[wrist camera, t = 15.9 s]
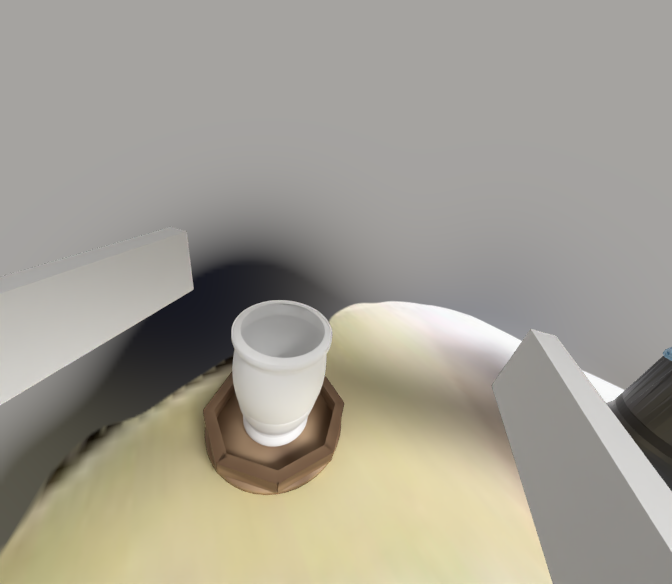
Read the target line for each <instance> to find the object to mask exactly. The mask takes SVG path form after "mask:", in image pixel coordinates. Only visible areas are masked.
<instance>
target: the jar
mask: <svg viewBox="0 0 672 584" xmlns="http://www.w3.org/2000/svg"><path fill="white" fill-rule="evenodd" d="M231 333H232V334H231V339H232V343H233V346H234V349H235V350H234V356H233V366H232V375H233V384H234V389H235V393H236V396H237V399H238V403H239V406H240V409H241V412H242V414H243V424H244V428H245V430H246V432H247V434H248V435H249V436H250V437H251V438H252V439H253V440H254V441H255V442H257V443H259V444H261V445H264V446H270V447H276V446H282V445H285V444H288V443H290V442H292V441H293V440H295V439H296V438H297V437H298V436H299V435H300V434H301V433H302V431H303V430H304V428H305V426H306V423H307V419H308V415H309V414H310V412H311V410H312V408H313V406H314V403H315V401H316V399H317V397H318V395H319V393H320V390H321V388H322V385H323V381H324V377H325V371H326V354H327V352H328V350H329V348H330V346H331V342H332V328H331V326H330V323H329V322H328V320H327V319H326V318H325V317H324V316H323V315H322V314H321V313H320V312H319V311H317V310H316V309H314V308H312V307H310V306H308V305H305V304H302V303H299V302H294V301H287V300H273V301H266V302H262V303H258V304H256V305H253V306H251V307H249V308H247V309H245V310H244V311H243V312H241V313H240V314H239V315H238V316H237V318H236V319H235V321H234V323H233V325H232V330H231Z"/></svg>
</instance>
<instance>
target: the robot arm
mask: <svg viewBox="0 0 672 584" xmlns="http://www.w3.org/2000/svg"><path fill="white" fill-rule="evenodd" d="M193 289H194V288H193V280H192V272H191V264H190V255H189V247H188V238H187V231H184V230H180V229H177V228H173V227H168V228H165V229H161V230H158V231H155V232H151V233H148V234H144V235H141V236H137V237H134V238H130V239H127V240H124V241H120V242H117V243H113V244H110V245H107V246H103V247H100V248H97V249H93V250H90V251H86V252H83V253H79V254H76V255H73V256H69V257H66V258H62V259H59V260H55V261H52V262H49V263H45V264H42V265H38V266H35V267H32V268H28V269H25V270H21V271H18V272H15V273H11V274H8V275H4V276H1V277H0V405H2V404H3V403H5V402H7V401H8V400H10V399H12V398H13V397H15V396H16V395H18V394H20V393H22V392H23V391H25V390H27V389H28V388H30V387H32V386H33V385H35V384H37V383H38V382H40V381H42V380H43V379H45V378H47V377H48V376H50V375H52V374H53V373H55V372H57V371H58V370H60V369H62V368H63V367H65V366H67V365H68V364H70V363H72V362H73V361H75V360H77V359H78V358H80V357H82V356H83V355H85V354H87V353H88V352H90V351H92V350H93V349H95V348H97V347H98V346H100V345H101V344H103V343H105V342H107V341H108V340H110V339H112V338H113V337H115V336H117V335H118V334H120V333H122V332H123V331H125V330H127V329H128V328H130V327H132V326H133V325H135V324H137V323H138V322H140V321H142V320H143V319H145V318H147V317H148V316H150V315H152V314H153V313H155V312H157V311H158V310H160V309H161V308H163V307H165V306H167V305H168V304H170V303H172V302H173V301H175V300H177V299H178V298H180V297H182V296H183V295H185V294H187V293H188V292H190V291H192V290H193ZM663 355H664V356H663V357H662V358H661V359H659V360H658V361H657V362H656V363H655V364H654V365H653V366H652V367H650V368H649V369H648V370H647V371H646V372H645V373H644V374H643V375H642V376H640V377H639V378H638V379H637V380H636V381H635V382H634V383H633V384H632V385H630V386H629V387H628V388H627V389H626V390H625V391H624V392H623V393H622V394H621V395H619V396H618V397H617V398H616V399H615V400H613V401H611V402H608V403H605V401H604V400H603V399H602V397H601V396H600V395H599V393H598V392H597V390H596V389H595V388H594V386H593V385H592V384H591V382H590V381H589V380H588V378H587V377H586V376H585V374H584V373H583V372H582V370H581V369H580V368H579V367H578V365H577V364H576V362H575V361H574V360H573V358H572V357H571V356H570V354H569V353H568V352H567V350H566V349H565V348H564V346H563V345H562V343H561V342H560V341H559V339H558V338H557V337H556V336H554V335H551V334H547V333H544V332H540V331H537V330H533V329H530V331H529V332H528V333H527V335H526V337H525V338H524V339H523V341H522V342H521V344H520V345H519V347H518V348H517V349H516V351H515V352H514V354H513V355H512V357H511V358H510V360H509V361H508V362H507V364H506V365H505V367H504V368H503V370H502V371H501V373H500V374H499V375H498V377H497V378H496V380H495V381H494V383H493V384H492V388H493V391H494V394H495V398H496V401H497V404H498V407H499V411H500V414H501V417H502V420H503V424H504V427H505V430H506V433H507V437H508V440H509V443H510V446H511V450H512V453H513V456H514V459H515V463H516V466H517V469H518V472H519V475H520V479H521V482H522V485H523V488H524V492H525V495H526V498H527V501H528V505H529V508H530V511H531V514H532V518H533V521H534V524H535V527H536V531H537V534H538V537H539V540H540V543H541V547H542V550H543V553H544V556H545V560H546V563H547V566H548V569H549V573H550V576H551V579H552V582H553V584H672V347H671V348H668V349H666V350H665V351H664V352H663Z"/></svg>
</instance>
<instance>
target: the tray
mask: <svg viewBox="0 0 672 584" xmlns="http://www.w3.org/2000/svg"><path fill="white" fill-rule="evenodd" d="M343 407H344V402H343V400H342V399H341V397H340V396H339V395H338V393H337V392H336V390H335V389H334V387H333V386H332V385H331V383H330V382H329V380H328V379H327V378H326V376H325V377H324V381H323V385H322V388H321V390H320V393H319V395H318V397H317V399H316V401H315V403H314V406H313V408H312V410H311V412H310V414H309V415H308V419H307V423H306V426H305V428H304V430H303V431H302V433H301V434H300V435H299V436H298V437H297V438H296V439H295V440H293V441H292V442H290V443H288V444H285V445H282V446H276V447H270V446H264V445H261V444H259V443H257V442H255V441H254V440H253V439H252V438H251V437H250V436H249V435H248V434H247V432H246V430H245V428H244V424H243V414H242V412H241V409H240V406H239V403H238V399H237V396H236V393H235V389H234V384H233V375H232V372H231V374H230V375H229V376H228V378H227V379H226V380H225V382H224V383H223V384H222V386H221V387H220V388H219V390H218V391H217V392H216V394H215V395H214V396H213V398H212V399H211V400H210V402H209V403H208V404H207V406H206V407H205V408H204V411H203V414H204V421H205V425H206V427H205V441H206V448H207V452H208V456H209V459H210V461H211V463H212V465H213V467H214V468H215V470H216V472H218V474H219V475H220V476H221V477H222V478H223V479H224V480H226V481H227V482H228V483H230V484H231V485H233V486H234V487H236V488H238V489H241V490H243V491H246V492H249V493H253V494H261V495H272V494H280V493H285V492H289V491H291V490H294V489H297V488H299V487H301V486H303V485H305V484H306V483H308V482H309V481H311V480H312V479H313V478H315V477H316V476H317V475H318V474H319V473H320V472H321V471H322V470H323V469H324V468H325V466H326V465H327V464H328V463H329V462H330V461H331V460H332V456H333V454H334V452H335V449H336V447H337V444H338V440H339V437H340V431H341V416H342V412H343Z"/></svg>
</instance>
